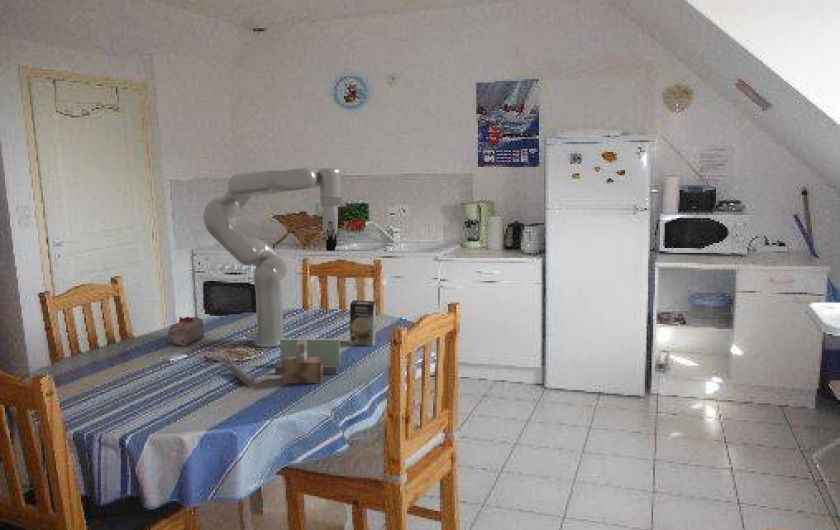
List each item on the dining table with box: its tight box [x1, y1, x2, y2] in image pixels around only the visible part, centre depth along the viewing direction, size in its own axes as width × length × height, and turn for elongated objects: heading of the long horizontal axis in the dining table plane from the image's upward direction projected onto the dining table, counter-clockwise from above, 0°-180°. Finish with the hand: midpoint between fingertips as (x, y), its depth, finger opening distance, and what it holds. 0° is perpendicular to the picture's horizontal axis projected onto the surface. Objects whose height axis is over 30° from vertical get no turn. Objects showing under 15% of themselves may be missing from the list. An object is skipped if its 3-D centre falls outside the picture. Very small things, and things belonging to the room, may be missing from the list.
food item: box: [167, 316, 205, 347], centre depth 252 cm, size 14×8×10 cm, turn 165°
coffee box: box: [349, 299, 377, 347], centre depth 251 cm, size 9×6×16 cm
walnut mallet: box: [281, 340, 324, 385], centre depth 211 cm, size 12×6×13 cm, turn 91°
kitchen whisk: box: [207, 345, 255, 387], centre depth 218 cm, size 6×34×6 cm, turn 37°
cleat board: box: [274, 337, 341, 375], centre depth 222 cm, size 20×11×9 cm, turn 91°
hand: (331, 248), depth 245 cm, fingers open, 9 cm apart
